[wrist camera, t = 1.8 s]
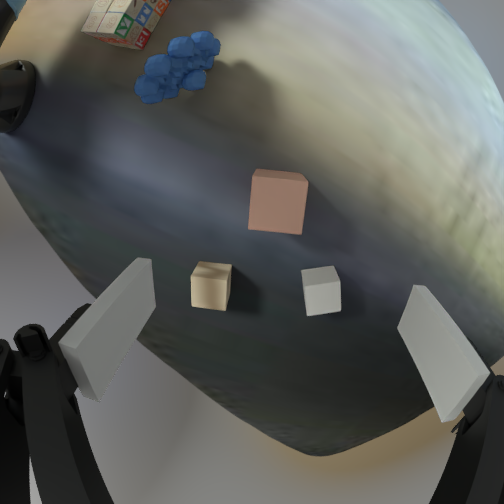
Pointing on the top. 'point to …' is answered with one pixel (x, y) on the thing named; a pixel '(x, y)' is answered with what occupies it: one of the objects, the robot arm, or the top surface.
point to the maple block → (211, 285)
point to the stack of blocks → (124, 21)
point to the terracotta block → (277, 201)
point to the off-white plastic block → (321, 290)
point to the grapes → (178, 67)
